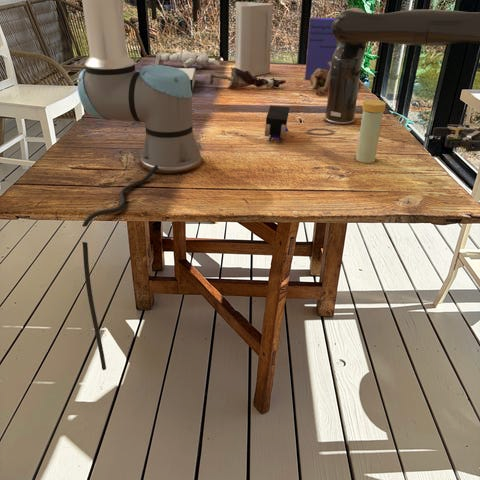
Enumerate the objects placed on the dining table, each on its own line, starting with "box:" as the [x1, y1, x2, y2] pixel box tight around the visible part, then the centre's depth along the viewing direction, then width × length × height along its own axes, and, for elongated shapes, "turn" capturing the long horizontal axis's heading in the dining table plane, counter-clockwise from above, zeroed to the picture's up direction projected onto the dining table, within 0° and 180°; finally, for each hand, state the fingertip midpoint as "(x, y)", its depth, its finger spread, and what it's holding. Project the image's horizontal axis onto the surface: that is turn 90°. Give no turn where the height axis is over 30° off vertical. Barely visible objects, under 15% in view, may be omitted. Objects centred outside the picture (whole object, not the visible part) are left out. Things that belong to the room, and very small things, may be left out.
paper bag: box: [234, 1, 274, 77], centre depth 210 cm, size 19×15×28 cm
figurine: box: [209, 66, 287, 89], centre depth 190 cm, size 24×8×30 cm
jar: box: [355, 109, 384, 164], centre depth 123 cm, size 5×5×15 cm
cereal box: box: [304, 17, 337, 80], centre depth 202 cm, size 17×5×24 cm, turn 86°
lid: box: [361, 99, 387, 113], centre depth 120 cm, size 6×6×2 cm
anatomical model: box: [309, 61, 331, 96], centre depth 186 cm, size 13×9×15 cm
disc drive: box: [176, 67, 196, 94], centre depth 191 cm, size 18×22×5 cm
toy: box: [155, 50, 221, 69], centre depth 223 cm, size 24×25×7 cm
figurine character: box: [264, 105, 290, 143], centre depth 140 cm, size 7×8×15 cm
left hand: (174, 20), depth 152 cm, fingers open, 13 cm apart
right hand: (439, 137), depth 124 cm, fingers open, 8 cm apart
